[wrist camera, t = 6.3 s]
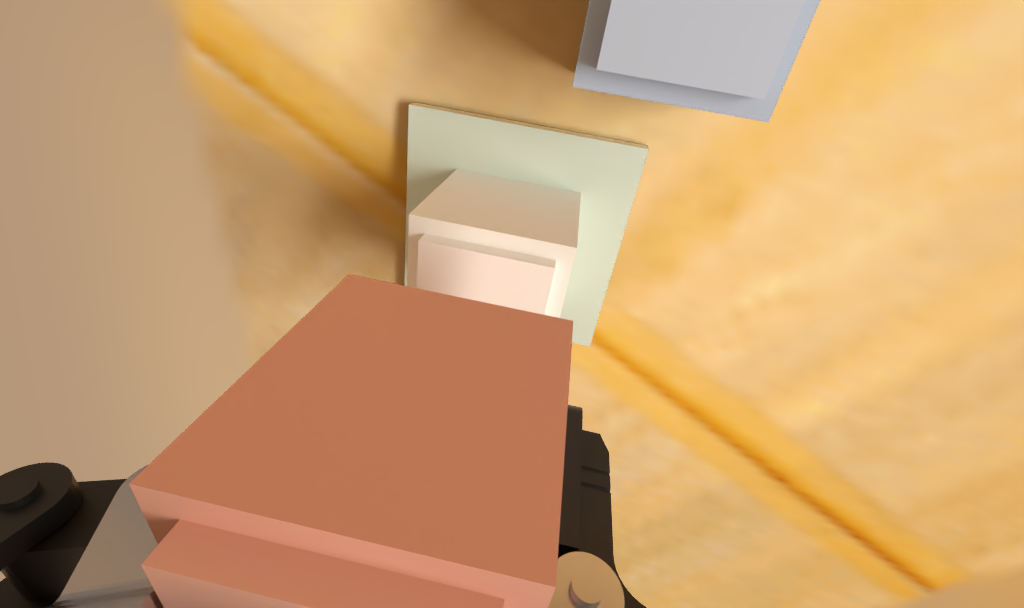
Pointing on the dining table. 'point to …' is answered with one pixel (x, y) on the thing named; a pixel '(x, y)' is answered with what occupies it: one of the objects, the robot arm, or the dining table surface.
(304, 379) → the brick terracotta
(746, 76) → the grey block
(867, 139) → the dining table surface
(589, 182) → the tower base
